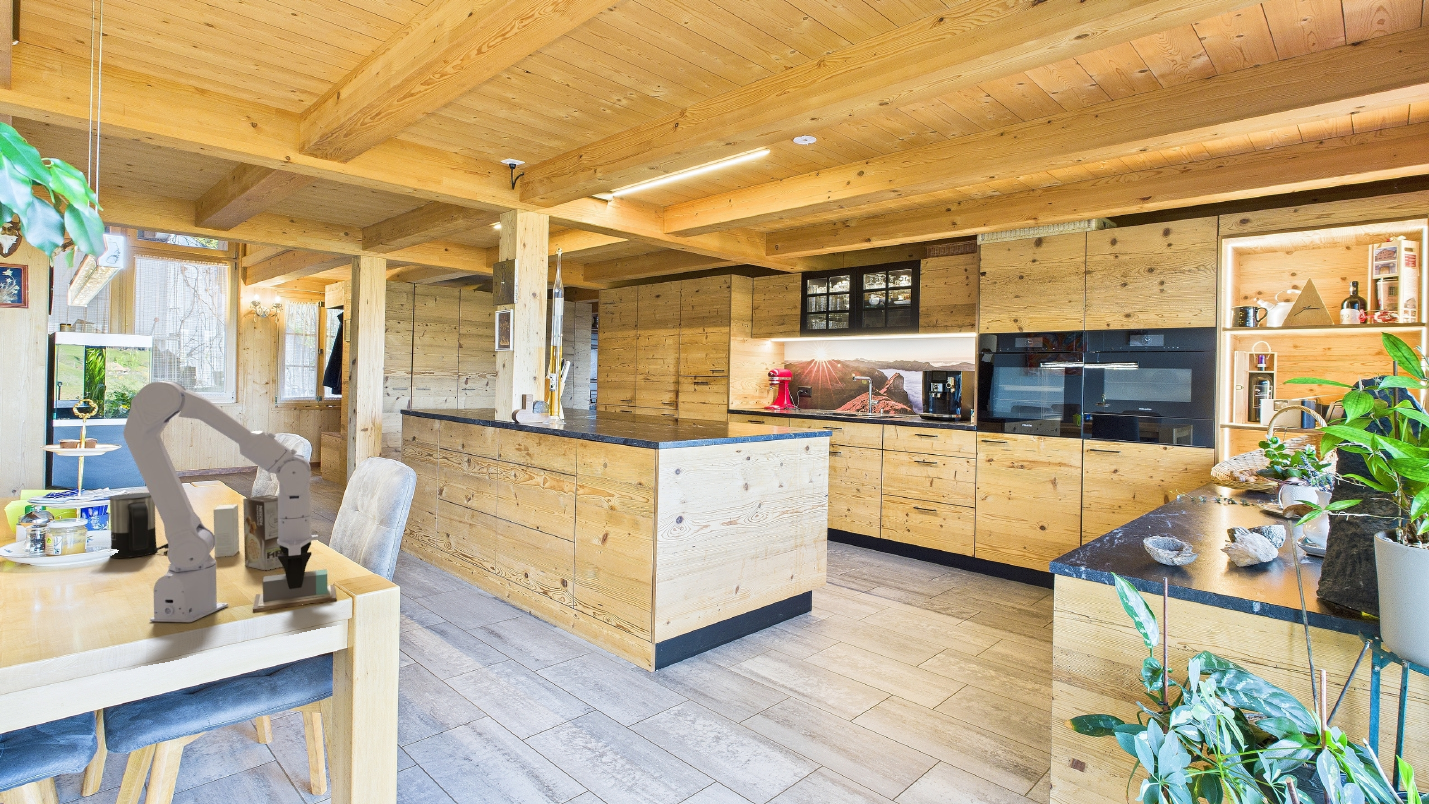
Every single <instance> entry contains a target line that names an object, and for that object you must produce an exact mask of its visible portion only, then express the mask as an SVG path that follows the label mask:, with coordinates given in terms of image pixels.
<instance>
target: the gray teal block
mask: <svg viewBox="0 0 1429 804" xmlns="http://www.w3.org/2000/svg"><path fill="white" fill-rule="evenodd" d="M327 585H328V569H327V568H326V569H316V570H308V571H305V573H304V579H303V584H302V587H301V588H295V589H289V587H288V583H287V579H286V574H285V573H283V574H275V575H267V576H265V575H264V576H263V579H262V594H263V602H268V601H275V600H283V599H290V598H298V597H305V596H313V595H320V594H328V589H327Z"/></svg>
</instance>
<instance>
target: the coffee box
mask: <svg viewBox="0 0 1429 804" xmlns="http://www.w3.org/2000/svg"><path fill="white" fill-rule="evenodd" d="M242 501H243V502H242V503H243V505H242V506H243V537H244V545H243V546H244V566H245V567H248V568H253V569H258V570H262V571H265V570H267V571H270V569H271V570H275V568H276V569H280V568H283V566H282V564H281V562H280V561H279V559H278V554H281V553H283V552H282V551H281V549H280V547H279V546H280V545H279V544H278V543H277V539H278V495H272V494H266V495H259V496H252V497H247V498H243V499H242ZM279 567H280V568H279Z"/></svg>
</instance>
